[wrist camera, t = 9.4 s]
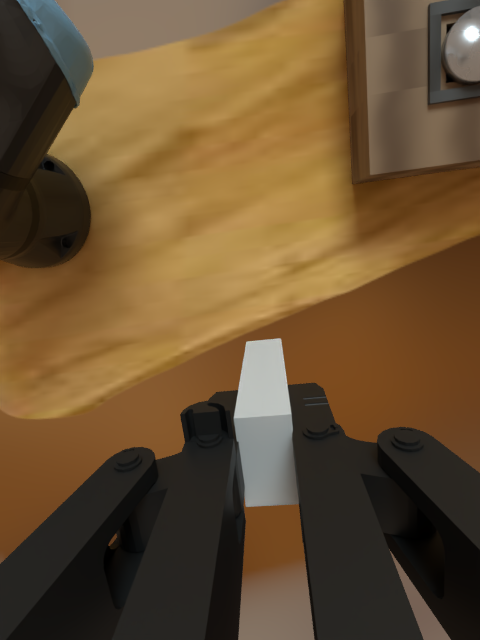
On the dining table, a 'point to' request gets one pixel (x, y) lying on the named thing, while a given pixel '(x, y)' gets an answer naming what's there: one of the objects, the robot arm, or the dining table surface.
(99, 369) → the dining table surface
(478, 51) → the grey piece
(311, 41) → the dining table surface
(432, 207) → the dining table surface
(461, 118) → the socket block
